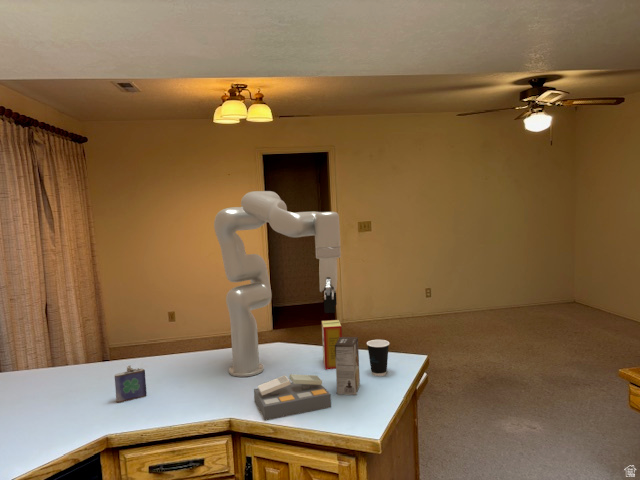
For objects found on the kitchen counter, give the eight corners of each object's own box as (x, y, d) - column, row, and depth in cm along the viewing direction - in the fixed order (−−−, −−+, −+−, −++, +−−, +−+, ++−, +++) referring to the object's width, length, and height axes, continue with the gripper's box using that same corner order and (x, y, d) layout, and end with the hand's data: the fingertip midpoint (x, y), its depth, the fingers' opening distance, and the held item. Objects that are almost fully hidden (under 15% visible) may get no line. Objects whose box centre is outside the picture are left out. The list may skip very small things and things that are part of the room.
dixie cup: (390, 369, 168) (389, 339, 167) (390, 378, 160) (389, 346, 159) (368, 369, 169) (367, 339, 168) (366, 377, 161) (365, 346, 161)
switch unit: (254, 401, 146) (253, 384, 145) (315, 390, 152) (314, 374, 152) (265, 420, 133) (264, 402, 132) (331, 407, 139) (330, 389, 139)
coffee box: (341, 383, 157) (339, 336, 156) (360, 384, 156) (358, 336, 155) (336, 394, 148) (334, 344, 147) (356, 395, 147) (354, 345, 146)
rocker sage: (289, 378, 145) (289, 374, 145) (316, 379, 149) (316, 375, 149) (293, 383, 141) (294, 379, 141) (321, 384, 144) (322, 380, 144)
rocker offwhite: (258, 389, 142) (257, 385, 142) (286, 378, 145) (285, 374, 145) (262, 395, 138) (261, 391, 137) (290, 384, 140) (289, 380, 140)
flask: (116, 403, 149) (114, 370, 148) (115, 400, 151) (113, 368, 150) (147, 396, 153) (145, 364, 153) (145, 393, 156) (143, 362, 155)
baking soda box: (343, 368, 171) (341, 325, 170) (325, 369, 171) (323, 326, 170) (340, 359, 181) (338, 318, 180) (323, 361, 180) (321, 319, 179)
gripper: (317, 250, 151) (320, 303, 152) (313, 256, 133) (316, 316, 135) (341, 249, 150) (343, 302, 151) (339, 255, 133) (342, 315, 134)
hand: (330, 308), depth 143 cm, fingers open, 9 cm apart
